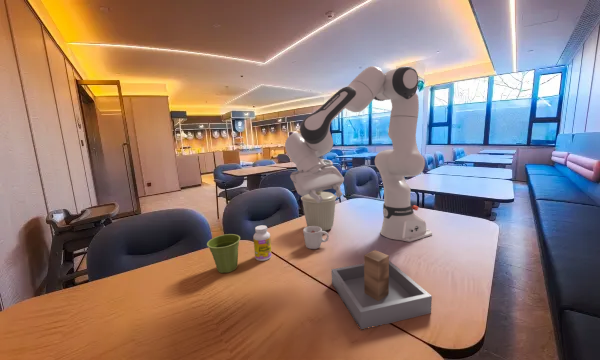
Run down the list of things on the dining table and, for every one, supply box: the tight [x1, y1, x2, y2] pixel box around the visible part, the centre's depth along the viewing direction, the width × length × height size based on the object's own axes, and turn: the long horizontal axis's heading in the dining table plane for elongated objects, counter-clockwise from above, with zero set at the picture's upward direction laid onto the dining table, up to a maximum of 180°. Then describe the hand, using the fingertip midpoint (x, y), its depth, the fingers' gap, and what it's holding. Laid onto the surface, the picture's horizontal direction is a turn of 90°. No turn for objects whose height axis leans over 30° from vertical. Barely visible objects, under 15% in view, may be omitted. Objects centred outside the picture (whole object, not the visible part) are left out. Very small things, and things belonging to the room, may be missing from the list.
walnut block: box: [363, 249, 390, 301], centre depth 70 cm, size 5×5×12 cm
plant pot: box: [206, 233, 241, 274], centre depth 90 cm, size 12×12×11 cm
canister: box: [300, 191, 338, 232], centre depth 124 cm, size 18×18×21 cm
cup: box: [302, 226, 330, 250], centre depth 104 cm, size 11×8×8 cm
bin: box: [331, 260, 433, 330], centre depth 70 cm, size 20×20×5 cm
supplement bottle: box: [252, 224, 272, 262], centre depth 97 cm, size 7×7×13 cm
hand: (330, 198), depth 84 cm, fingers open, 8 cm apart
